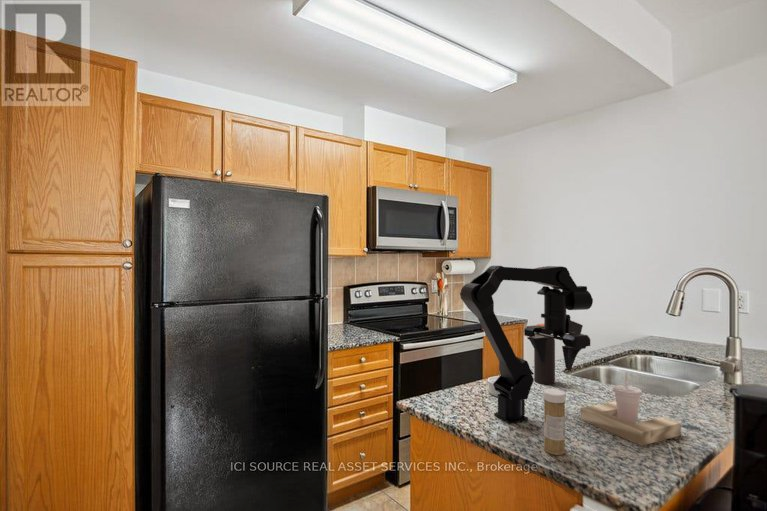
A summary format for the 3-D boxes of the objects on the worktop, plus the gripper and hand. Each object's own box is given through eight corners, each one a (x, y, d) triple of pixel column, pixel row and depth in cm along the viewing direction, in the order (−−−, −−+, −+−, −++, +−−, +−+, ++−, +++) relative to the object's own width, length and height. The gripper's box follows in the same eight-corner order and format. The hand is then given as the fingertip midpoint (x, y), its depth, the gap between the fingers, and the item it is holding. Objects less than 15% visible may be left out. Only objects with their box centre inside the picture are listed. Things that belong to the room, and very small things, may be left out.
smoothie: (609, 426, 104) (609, 372, 104) (617, 419, 108) (616, 367, 108) (638, 434, 99) (638, 377, 99) (645, 426, 104) (644, 372, 104)
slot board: (641, 445, 93) (641, 432, 93) (580, 419, 108) (580, 408, 108) (680, 435, 98) (680, 423, 98) (617, 411, 114) (617, 400, 114)
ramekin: (486, 396, 126) (486, 382, 126) (488, 388, 135) (488, 375, 135) (516, 399, 124) (516, 385, 124) (516, 390, 132) (516, 377, 132)
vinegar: (557, 385, 138) (557, 326, 138) (536, 384, 139) (536, 326, 139) (552, 379, 144) (552, 323, 144) (532, 378, 145) (532, 323, 146)
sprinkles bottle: (548, 444, 93) (548, 386, 94) (568, 451, 90) (568, 391, 90) (540, 451, 90) (540, 391, 90) (561, 458, 87) (561, 396, 87)
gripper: (605, 313, 108) (605, 371, 108) (551, 305, 125) (551, 356, 125) (574, 315, 103) (574, 376, 103) (523, 307, 120) (523, 359, 120)
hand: (555, 366), depth 113 cm, fingers open, 9 cm apart
